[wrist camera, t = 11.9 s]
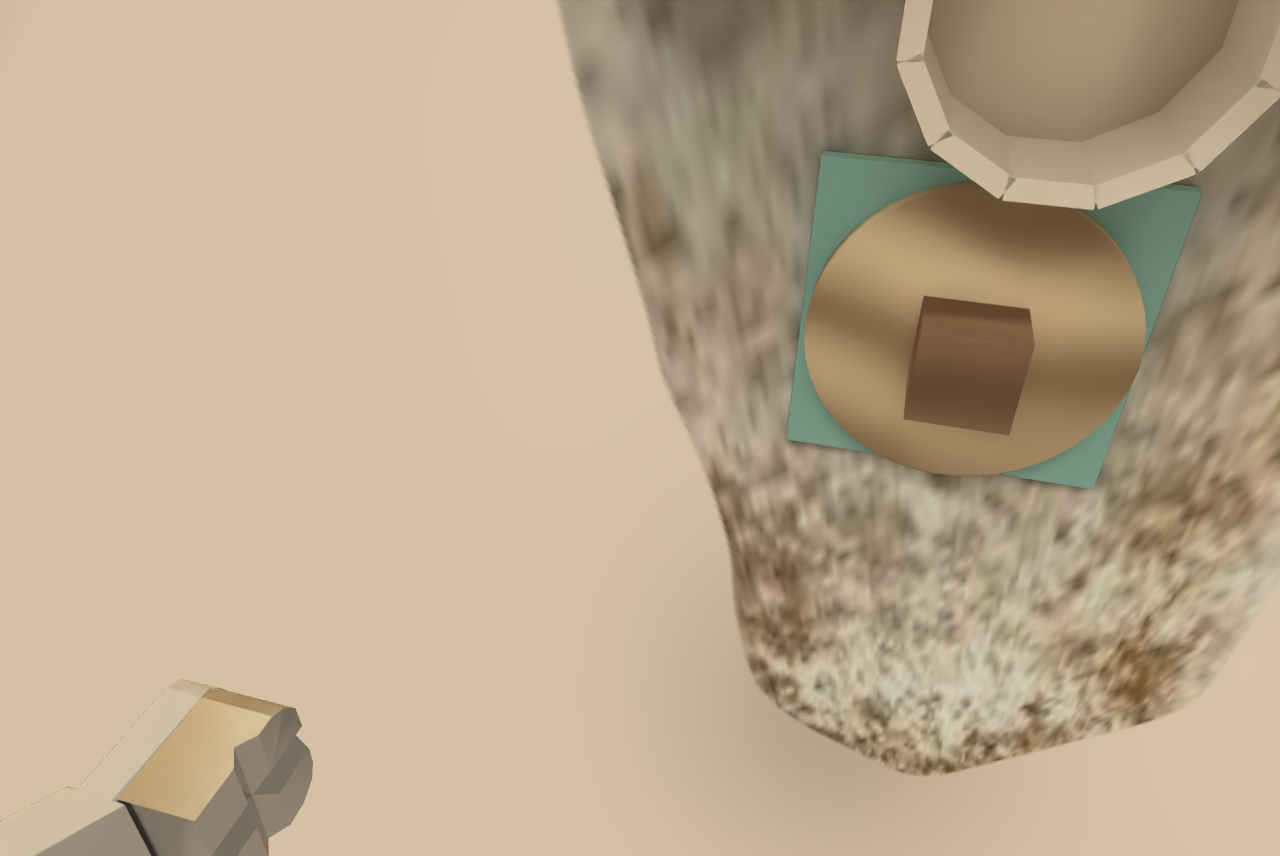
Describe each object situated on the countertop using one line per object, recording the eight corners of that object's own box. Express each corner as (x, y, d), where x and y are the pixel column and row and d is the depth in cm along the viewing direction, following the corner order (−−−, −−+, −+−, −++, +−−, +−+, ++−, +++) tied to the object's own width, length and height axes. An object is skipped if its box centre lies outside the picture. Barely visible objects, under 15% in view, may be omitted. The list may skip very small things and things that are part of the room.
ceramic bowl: (941, -208, 29) (938, -207, 25) (1329, -203, 27) (1401, -200, 23) (885, 138, 36) (875, 187, 31) (1196, 167, 33) (1233, 224, 29)
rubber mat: (822, 150, 37) (821, 155, 36) (1199, 186, 34) (1202, 192, 33) (788, 432, 44) (786, 439, 44) (1091, 481, 42) (1093, 489, 41)
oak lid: (827, 163, 36) (814, 202, 33) (1189, 198, 34) (1215, 244, 30) (792, 435, 44) (779, 488, 40) (1087, 482, 41) (1099, 543, 38)
